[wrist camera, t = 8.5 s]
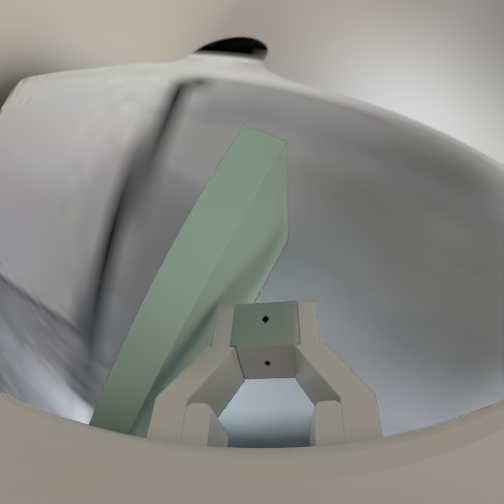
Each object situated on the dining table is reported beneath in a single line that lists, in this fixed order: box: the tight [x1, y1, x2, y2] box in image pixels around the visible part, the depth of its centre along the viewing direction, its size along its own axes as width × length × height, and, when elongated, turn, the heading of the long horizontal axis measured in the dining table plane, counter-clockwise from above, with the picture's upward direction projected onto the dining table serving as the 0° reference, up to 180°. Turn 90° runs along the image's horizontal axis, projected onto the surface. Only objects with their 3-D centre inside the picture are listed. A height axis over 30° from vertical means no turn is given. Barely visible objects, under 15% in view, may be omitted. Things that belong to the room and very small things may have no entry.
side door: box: [89, 124, 288, 438], centre depth 13 cm, size 20×2×14 cm, turn 151°
